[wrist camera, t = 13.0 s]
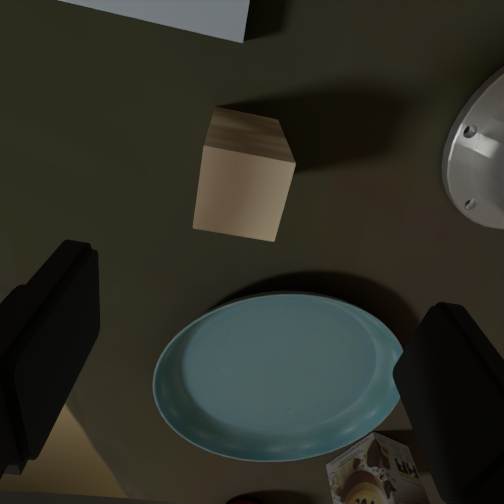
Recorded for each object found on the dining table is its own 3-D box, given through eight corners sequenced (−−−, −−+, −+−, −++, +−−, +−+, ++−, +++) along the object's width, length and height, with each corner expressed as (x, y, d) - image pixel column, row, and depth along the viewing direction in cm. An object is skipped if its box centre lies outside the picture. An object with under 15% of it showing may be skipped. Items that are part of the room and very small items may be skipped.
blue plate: (395, 417, 43) (406, 445, 40) (198, 446, 45) (195, 474, 42) (396, 248, 30) (412, 271, 27) (121, 300, 32) (109, 326, 29)
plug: (278, 119, 24) (295, 163, 16) (264, 178, 26) (274, 241, 19) (215, 106, 23) (203, 145, 16) (206, 167, 26) (192, 228, 18)
